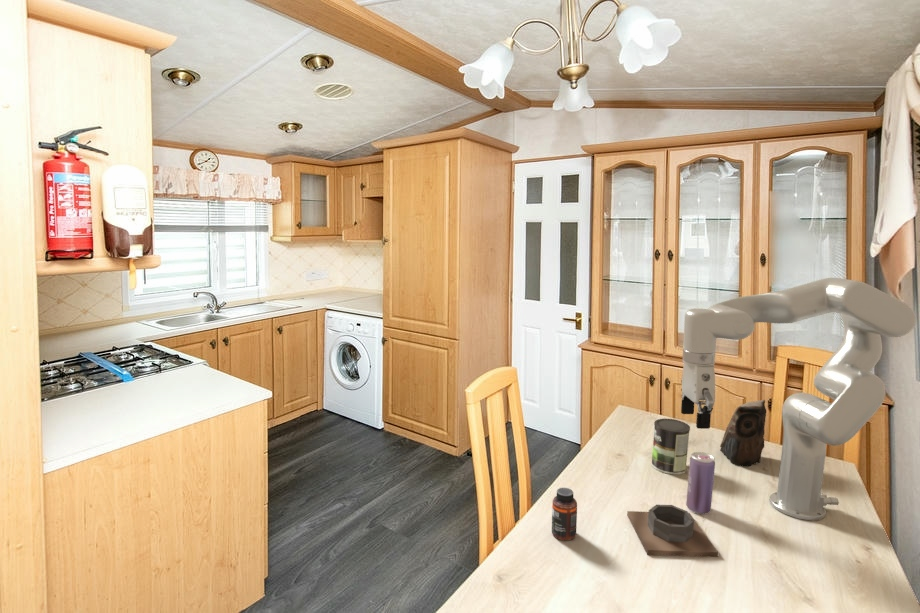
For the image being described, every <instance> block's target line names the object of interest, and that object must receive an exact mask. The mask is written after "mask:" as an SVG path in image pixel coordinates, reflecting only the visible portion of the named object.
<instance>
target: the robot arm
mask: <svg viewBox="0 0 920 613" xmlns="http://www.w3.org/2000/svg"><path fill="white" fill-rule="evenodd" d="M830 313H837V314H840V315H841V320H842V322H843V327H844V336H843V340H842V342H841V344H840V345H839V347H838V348H837V349H836V351H834V353H832V355H831V356H830V357H829V359H828V360H827V361H826V362H825V363H824V364H823V366H822V367H821V368H820V369H819V370H818V372H817V373H816V374H815V375H814V379H813V385H814V388H815V389H816V390H817V391H818V392H819V393H821V394H823V395H824V396H827V397H828V398H830V399H832V400H833V401H832V402H830V401H827V400H825V399H823V398H821V397H819V396H816V395H814V394H811V393H808V392H807V393H806V392H796V393H793V394H791V395H790V396H788V397H787V398H786V399H785V401H784V402H783V403H782V412H781V415H782V416H781V417H782V418H781V419H782V426H783V434H782V448H781V456H780V457H781V458H780V465H779V474H778V483H777V489H776V490H777V491H776V492H773V493H771V494H770V496H769V503H770V505H772V507H773V508H775V510H777V511H779V512H781V513H783V514H785V515H788V516H790V517H793V518H796V519H800V520H806V521H819V520H822V519H823V518H825V517H826V508H825V507H826V506H827V505H829V506H838V505H839V504H840V502H839V499H838V498H837V497H836V496H835V497H834V496H833V497H832V496H830V497H828V496H827V493H824V492H823V493H822V487H823V486H822V484H823V478H824V477H823V476H824V469H825V463H826V456H827V445H829V446H841V445H844V444H846V443H847V442H849V441H850V440H851V439H852V438H854V437H855V436H856V435H857V433H859V431H860V430H861V429H862V428H863V427H864V425H866V424H867V423H868V421H869V420H870V419H871V418H872V417H873V416H874V414H875V413H877V411H878V410H879V408H880V407H882V404H883V403H884V401H885V398H886V385H885V383H884V381H883V379H882V378H880V377H879V375H878V376H877V375H876V374H874V373H872V372H871V371H872V370H873V369H874V367H875V366H876V365H877V363H879V361H880V360H881V357H882V355H883V354H882V353H883V342H882V336H884V337H888V338H901V337H903V336H906V335H907V334H908V335H909V333H911V332H912V330H913V329H914V328H915V326H916V323H917V316H916V313H915V311H914V310H913V308H912V307H911V306H909V305H908V304H907V303H905V302H903V301H901V300H899V299H898V298H895V297H894V296H891V295H890V294H888V293H886V292H884V291H882V290H880V289H878V288H876V287H875V286H872V285H870V284H869V283H866V282H863V281H859V280H854V279H846V278H840V277H826V278H821V279H817V280H815V281H811V282H807V283H804V284H801V285H797V286H793V287H789V288H787V289H782V290H778V291H771V292H765V293H760V294H759V293H758V294H752V295H751V294H750V295H743V296H739V297H736V298H731V299H728V300H724V301H721V302H718V303H715V304H713V305H711V306H710V307H708V308H690V309H688V310H686V311H685V314H684V322H683V324H684V325H683V326H684V327H683V341H682V342H683V345H682V346H683V347H682V363H683V365H682V366H683V367H682V368H683V369H682V376H681V380H680V382H681V389H680V391H681V392H682V394H681V406H680V413H681V415H694V413H695V404H696V406H697V410H698V412H696V424H695V427H696V429H700V430H701V429H704V430H706V429H708V430H709V429H710V428H711V417H712V416H711V415H712V412H713V409H714V408H713V407H714V405H715V402H716V401H715V400H716V373H715V372H716V371H715V364H716V350H717V349H716V348H717V339H725V340H730V341H731V340H733V341H738V340H739V341H740V340H744V339H746V338H749V337H750V336H751V335H752V334H753V332H754V331H755V328H756V325H755V324H756V323H768V324H783V325H784V324H792V323H797V322H800V321H801V322H802V321H804V320H808V319H811V318H815V317H818V316H822V315H825V314H830ZM702 405H703V407H702Z"/></svg>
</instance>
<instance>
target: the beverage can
mask: <svg viewBox="0 0 920 613" xmlns="http://www.w3.org/2000/svg"><path fill="white" fill-rule="evenodd" d="M690 455H691V456H690V457H689V467H688V468H689V469H688V477H687V478H688V480H687V491H686V502H685V504H686V508H687V509H688V510H689V511H690V512H692V513H694V514H697V515H707V514H709V513H710V512H711V511H712V510H711V509H712V503H713V502H712V501H713V489H714V477H715V471H716V470H715V468H716V462H715V459H716V458H715V457H714V456H713V455H711V454H709V453H706V452H701V451H695V452H692V453H691V454H690Z"/></svg>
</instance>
